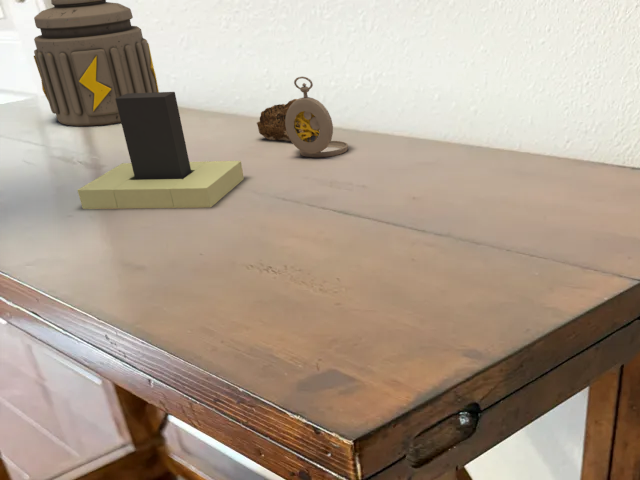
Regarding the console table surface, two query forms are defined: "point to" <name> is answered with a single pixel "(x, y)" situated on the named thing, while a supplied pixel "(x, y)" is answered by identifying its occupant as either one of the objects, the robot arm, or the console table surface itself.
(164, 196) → the seat pad
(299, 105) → the pocket watch
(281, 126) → the rock sample
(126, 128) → the back pad
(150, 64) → the grey power cell canister
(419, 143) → the console table surface
